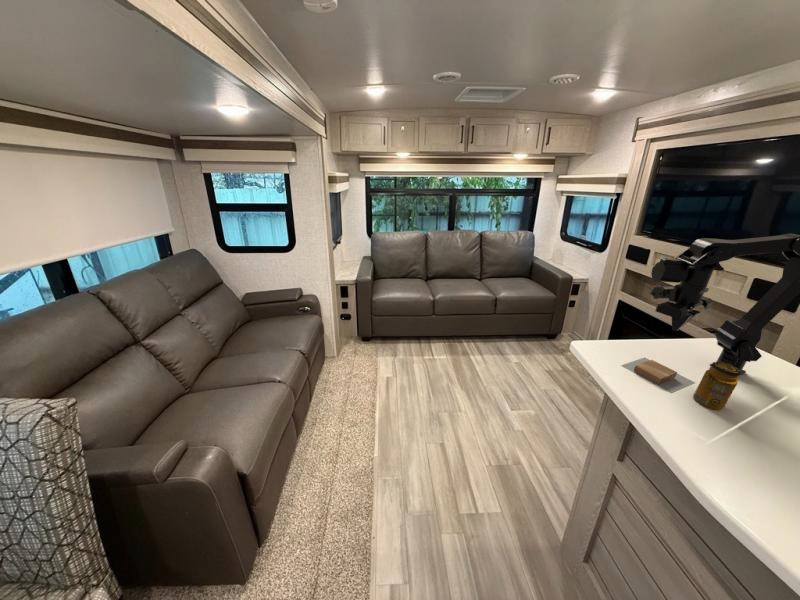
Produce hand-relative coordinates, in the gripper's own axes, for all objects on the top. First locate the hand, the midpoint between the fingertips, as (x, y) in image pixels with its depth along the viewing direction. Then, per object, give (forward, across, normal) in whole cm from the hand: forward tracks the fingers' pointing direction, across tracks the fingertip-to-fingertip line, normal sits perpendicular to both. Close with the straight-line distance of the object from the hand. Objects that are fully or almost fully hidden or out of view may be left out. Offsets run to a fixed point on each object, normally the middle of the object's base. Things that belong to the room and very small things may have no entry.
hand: (674, 330), depth 95 cm
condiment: (+12, +12, +16) cm, 23 cm away
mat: (+12, +9, +3) cm, 15 cm away
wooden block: (+10, +7, +3) cm, 13 cm away
